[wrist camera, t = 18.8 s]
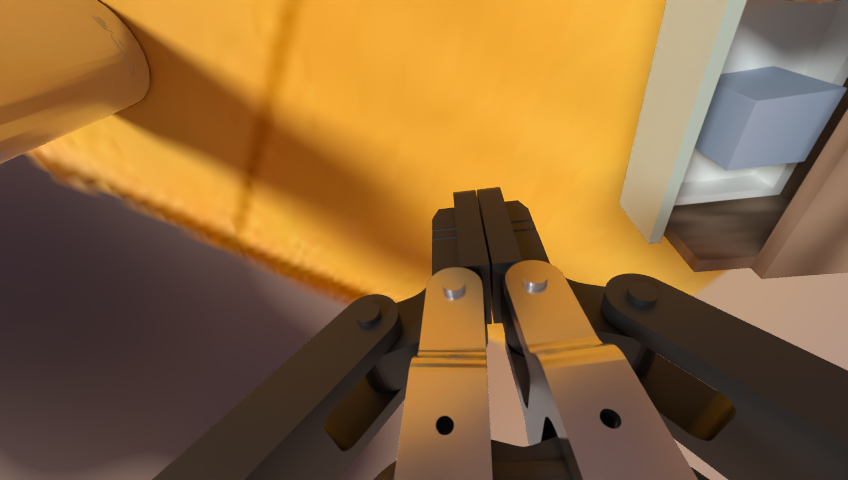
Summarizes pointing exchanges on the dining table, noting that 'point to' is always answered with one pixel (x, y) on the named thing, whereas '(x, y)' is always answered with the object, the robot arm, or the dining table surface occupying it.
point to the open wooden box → (777, 217)
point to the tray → (694, 87)
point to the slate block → (765, 117)
